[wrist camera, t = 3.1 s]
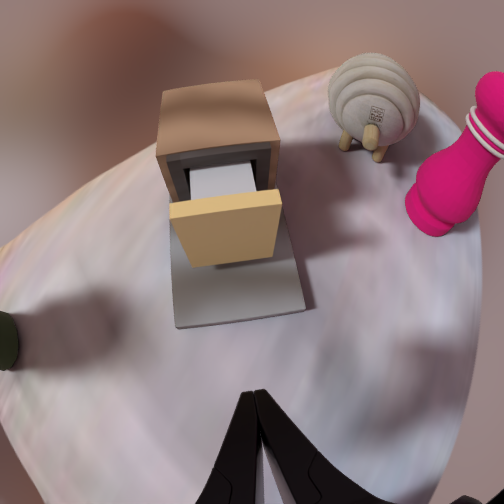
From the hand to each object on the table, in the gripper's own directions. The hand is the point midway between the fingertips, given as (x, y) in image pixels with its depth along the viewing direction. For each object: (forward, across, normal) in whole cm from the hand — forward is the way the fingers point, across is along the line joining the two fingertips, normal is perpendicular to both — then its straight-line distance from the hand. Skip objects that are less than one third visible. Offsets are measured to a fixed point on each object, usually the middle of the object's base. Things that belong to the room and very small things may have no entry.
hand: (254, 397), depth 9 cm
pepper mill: (+17, -21, 0) cm, 28 cm away
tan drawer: (+17, 0, -4) cm, 17 cm away
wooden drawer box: (+18, 0, -2) cm, 18 cm away
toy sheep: (+26, -17, -9) cm, 32 cm away
